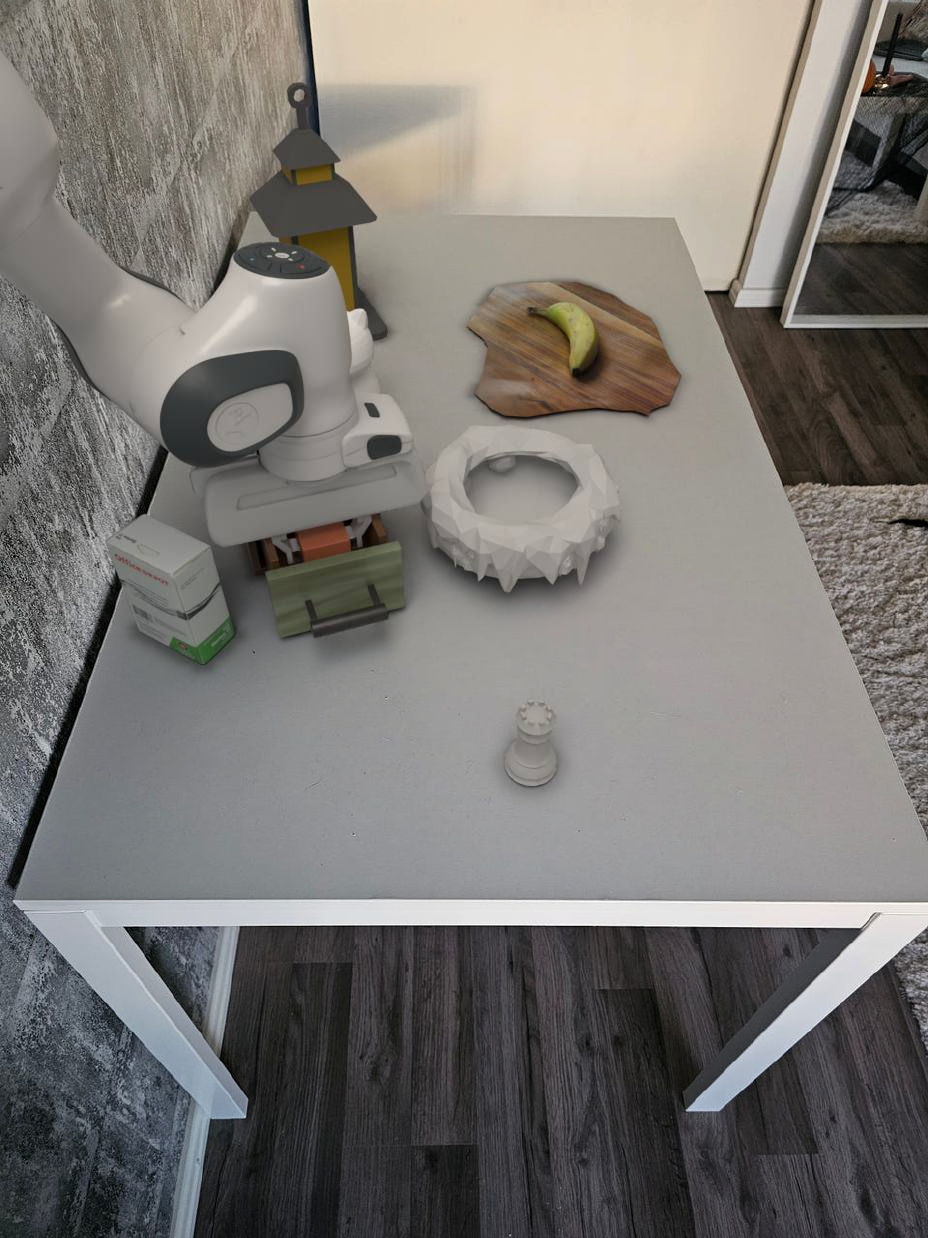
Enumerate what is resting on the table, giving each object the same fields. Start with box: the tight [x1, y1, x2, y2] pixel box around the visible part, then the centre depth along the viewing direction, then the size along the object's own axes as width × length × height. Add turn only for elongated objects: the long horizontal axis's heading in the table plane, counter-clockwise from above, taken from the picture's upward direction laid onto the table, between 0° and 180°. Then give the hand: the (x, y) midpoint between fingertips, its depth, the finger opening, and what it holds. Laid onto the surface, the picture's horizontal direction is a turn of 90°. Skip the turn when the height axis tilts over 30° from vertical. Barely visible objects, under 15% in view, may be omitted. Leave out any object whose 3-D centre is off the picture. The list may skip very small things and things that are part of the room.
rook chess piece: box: [504, 698, 557, 787], centre depth 75 cm, size 4×4×8 cm
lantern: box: [248, 81, 388, 341], centre depth 116 cm, size 14×14×30 cm
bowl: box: [419, 424, 625, 593], centre depth 93 cm, size 21×20×10 cm
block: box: [295, 521, 351, 563], centre depth 88 cm, size 4×4×4 cm
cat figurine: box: [347, 309, 382, 394], centre depth 107 cm, size 9×12×15 cm
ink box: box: [105, 513, 236, 665], centre depth 83 cm, size 9×5×12 cm, turn 58°
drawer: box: [259, 513, 406, 639], centre depth 88 cm, size 18×12×8 cm
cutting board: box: [466, 281, 682, 418], centre depth 122 cm, size 35×27×4 cm
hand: (324, 551), depth 88 cm, fingers closed on block, 4 cm apart
